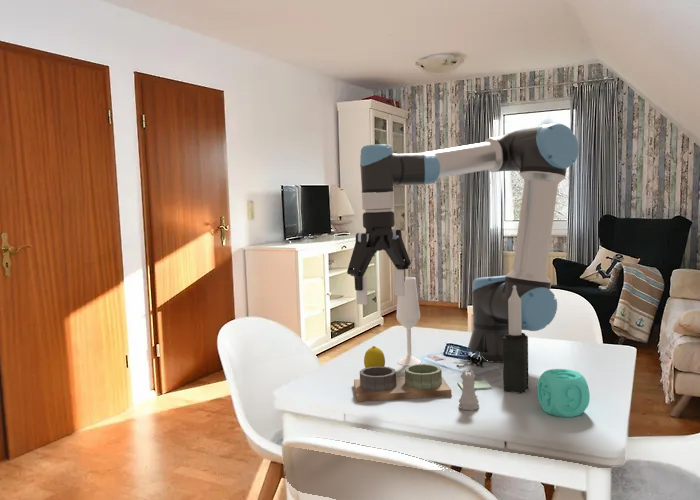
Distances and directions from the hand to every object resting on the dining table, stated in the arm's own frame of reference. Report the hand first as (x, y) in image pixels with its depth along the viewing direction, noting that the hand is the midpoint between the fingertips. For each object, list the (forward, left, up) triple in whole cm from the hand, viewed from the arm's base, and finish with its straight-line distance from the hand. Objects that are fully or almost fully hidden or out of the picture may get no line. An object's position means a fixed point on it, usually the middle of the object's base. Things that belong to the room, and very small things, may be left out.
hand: (381, 299), depth 142 cm
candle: (-31, +5, -22) cm, 38 cm away
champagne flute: (-10, -23, -22) cm, 34 cm away
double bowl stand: (-4, +1, -22) cm, 23 cm away
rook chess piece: (-17, +15, -22) cm, 32 cm away
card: (-22, +1, -22) cm, 31 cm away
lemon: (+1, -12, -22) cm, 26 cm away
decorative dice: (-36, +20, -23) cm, 47 cm away
